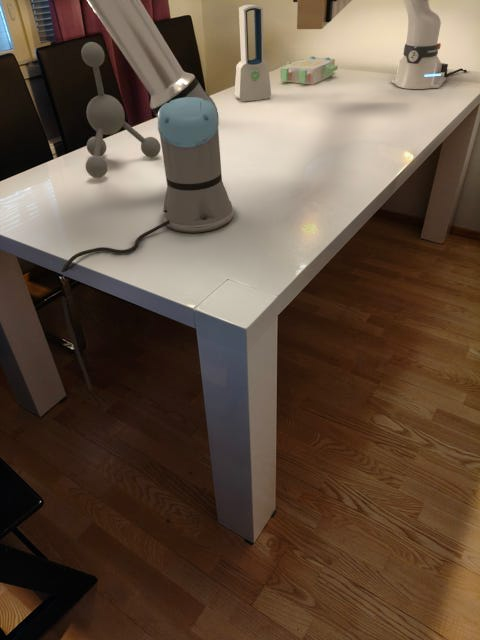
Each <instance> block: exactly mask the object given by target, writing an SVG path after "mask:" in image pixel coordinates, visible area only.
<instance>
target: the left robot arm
mask: <svg viewBox="0 0 480 640" xmlns="http://www.w3.org/2000/svg"><path fill="white" fill-rule="evenodd" d="M86 1H87V2H88V4H89V6H90V7H91V8H92V10H93V12H94V13H95V15H96V16H97V18H98V19H99V21H100V22H101V23H102V25H103V27H104V28H105V30H106V31H107V32H108V34H109V35H110V37H111V38H112V40H113V41H114V43H115V44H116V46H117V47H118V49H119V50H120V51H121V53H122V55H123V56H124V58H125V59H126V61H127V63H128V64H129V65H130V67H131V68H132V70H133V71H134V73H135V74H136V76H137V77H138V79H139V80H140V82H141V83H142V85H143V86H144V88H145V89H146V90H147V92H148V94H149V96H150V101H149V102H150V104H149V108H150V109H151V111H152V112H153V114H154V115H155V116H156V118H157V123H156V124H157V125H156V126H157V131H158V133H159V138H160V147H161V153H162V159H163V168H164V174H165V180H166V190H165V191H166V192H165V196H164V203H163V207H162V218H163V222H162V223H160V224H159V225H156V226H154V227H153V228H151V229H148V230H147V231H145V232H143V233H142V234H140V235H139V236H138V237H137V238H136V239H135V241H134V244H133V245H132V246H131V247H129V248H126V249H117V248H113V247H106V246H100V247H95V248H94V247H93V248H90V249H86V250H83V251H80V252H77V253H75V254H73V256H71V257H70V258H69V259H67V261H66V262H65V264H64V265H63V266H62V268H61V271H60V272H61V273H66V272H67V270H68V268H69V267H70V265H71V264H73V262H74V261H75V260H76V259H78V258H80V257H82V256H84V255H89V254H94V253H97V252H110V253H114V254H123V255H124V254H129V253H131V252H133V251H135V250H136V249H137V248H138V246H139V242H140V241H141V240H143V239H144V238H145V237H147V236H149V235H151V234H153V233H154V232H157V231H158V230H161V229H162V228H164V227H165V226H167V227H168V228H169V229H171V230H173V231H177V232H180V233H190V234H191V233H192V234H193V233H194V234H195V233H196V234H197V233H205V232H206V233H207V232H210V231H215V230H216V229H220V228H222V227H224V226H226V225H227V224H228V223H230V221H231V220H232V218H233V216H234V212H233V211H234V210H233V205H232V201H231V200H230V197H229V195H228V192H227V190H226V187H225V184H224V182H223V175H222V174H223V173H222V161H221V147H220V146H221V145H220V133H219V131H220V130H219V125H220V122H219V121H220V119H219V118H220V117H219V112H218V108H217V105H216V102H214V99H213V98H212V97H211V96H210V95H209V93H206V91H205V90H204V89H203V87H202V86H201V84H200V82H199V81H198V79H197V78H196V76H195V75H194V74H193V73H190V72H186V71H184V70H183V68H182V65H180V63H179V62H178V59H177V58H176V57H175V55H174V53H173V52H172V50H171V48H170V47H169V45H168V43H167V41H166V40H165V39H164V37H163V35H162V34H161V32H160V31H159V28H158V27H157V25H156V24H155V22H154V21H153V19H152V17H151V16H150V14H149V12H148V11H147V9H146V7H145V6H144V4H143V3H142V1H141V0H86ZM333 1H337V0H327V9H326V22H329V23H331V22H332V20H333V19H332V7H333ZM292 2H293V3H298V0H292ZM61 300H62V307H63V313H64V318H65V323H66V327H67V331H68V334H69V337H70V341H71V343H72V347H73V349H74V352H75V354H76V357H77V360H78V362H79V365H80V367H81V370H82V373H83V376H84V379H85V382H86V386H87V387H88V390H89V391H92V390H93V388H92V384H91V381H90V377H89V375H88V372H87V368H86V366H85V364H84V361H83V357H82V355H81V352H80V350H79V348H78V347H79V346H78V345H77V341H76V339H75V335H74V332H73V329H72V325H71V321H70V315H69V309H68V303H67V297H66V296H63V295H62V296H61Z"/></svg>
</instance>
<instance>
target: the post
mask: <svg viewBox="0 0 480 640" xmlns="http://www.w3.org/2000/svg"><path fill="white" fill-rule="evenodd" d="M352 1H353V0H337V1H333V7H332V20H333V19H334V18H335V17H336V16H337V15H338V14H339V13H340V12H341V11H343V10H344V9H345V8H346V7H347V6H349V4H350V3H351V2H352ZM296 5H297V6H296V7H297V11H296V30H322V29H324V28H325V27H326V26H327V25H328V24H329V23H330V22H326V9H327V0H298V2H297V4H296Z"/></svg>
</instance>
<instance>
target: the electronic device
mask: <svg viewBox="0 0 480 640" xmlns="http://www.w3.org/2000/svg"><path fill="white" fill-rule="evenodd" d="M251 11H253V16H254V54H255V55H254V56H255V58H253V59H249V58H250V57H249V28H248V12H251ZM238 21H239V22H238V23H239V46H240V47H239V48H240V60H239V62H238V63H237V64H236V68H235V69H236V70H235V80H234V82H235V83H234V95H235V96H236V97H237V99H239V100H240V101H241V102H242V103H244V102H251V101H261V100H268V99H270V97H271V95H272V89H271V78H270V68H269V64H268V63H267V62H266V61H265V60H264V59H265V58H264V56H265V55H264V8H263V7H261V6H259V5H256V4H244V5H241V6H239V7H238Z"/></svg>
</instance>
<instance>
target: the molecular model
mask: <svg viewBox="0 0 480 640" xmlns="http://www.w3.org/2000/svg"><path fill="white" fill-rule="evenodd" d="M80 53H81V54H80V55H81V59H82V60H83V62H84V63H85V64H86V65H87V66H89V67H91V68H92V70H93V75H94V80H95V85H96V90H97V95H96V96H94V97H93V98H91V99H90V101H89V102H88V104H87V107H86V118H87V121H88V123H89V126H90V127H91V128H92V129H93V130H94V131H95V136H91V137H89V139H88V140H87V142H86V149H87V151H88V153H89V154H90V155H91V156H90V157H88V158H87V159H86V162H85V170H86V172H87V174H88V175H89V176H90V177H92V178H96V179H100V178H103V177H104V176H106V175H107V172H108V163H107V161H106V160H105V159H104V158H103V157H102V156H103V155H105V154H106V152H107V144H106V141H105V140H104V135H106V136H109V135H114V134H116V133H118V132H119V131H120V130H121V129H122V128H123V129H125V130H126V131H127V132H128V133H129V134H130V135H131V136H133V137H134V138H135V139H136V140H137V141H138V142H140V150H141V152H142V154H143V155H144V156H146V157H147V158H155V157H157V156H159V154H160V153H161V142H160V141H159V139H157V138H156V137H153V136H147V137H144V136H142V134H140V133H139V132H138V131H136V129H135V128H133V127H132V126H131V125H130V124H129V123H127V122H126V121H125V120H126V114H125V110H124V107H123V105H122V104H121V102H120V101H119V100H118V99H117V98H116V97H114V96H112V95H110V94H105V91H104V86H103V79H102V75H101V71H100V70H101V69H100V66H102V65H103V63H104V62H105V57H106V55H105V51H104V49H103V48H102V46H101V45H100V44H99V43H97V42H95V41H88V42H86V43H85V44H84V45H82V48H81V52H80Z"/></svg>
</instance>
